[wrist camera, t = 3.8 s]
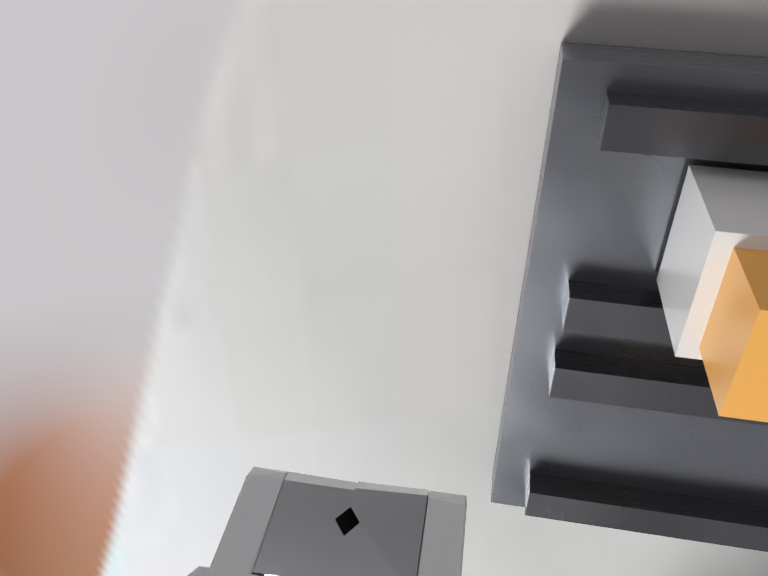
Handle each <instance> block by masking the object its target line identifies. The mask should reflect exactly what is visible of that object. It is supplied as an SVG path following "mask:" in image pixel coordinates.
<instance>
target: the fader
mask: <svg viewBox="0 0 768 576" xmlns="http://www.w3.org/2000/svg"><path fill="white" fill-rule="evenodd" d="M657 284H658V288H659V292H660V296H661V301H662V305H663V309H664V313H665V317H666V321H667V325H668V329H669V333H670V338H671V342H672V346H673V350H674V354H675V357H683V358H691V359H699V360H703V363H704V367H705V370H706V373H707V377H708V380H709V384H710V387H711V391H712V394H713V398H714V401H715V405H716V408H717V411H718V415H719V416H722V417H730V418H737V419H745V420H753V421H760V422H768V172H762V171H751V170H740V169H729V168H718V167H707V166H696V165H689V167H688V170H687V174H686V177H685V181H684V184H683V188H682V191H681V195H680V198H679V202H678V206H677V209H676V213H675V216H674V220H673V223H672V227H671V230H670V234H669V237H668V241H667V245H666V248H665V252H664V255H663V259H662V262H661V266H660V269H659V273H658V276H657Z"/></svg>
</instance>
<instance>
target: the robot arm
mask: <svg viewBox="0 0 768 576" xmlns="http://www.w3.org/2000/svg"><path fill="white" fill-rule="evenodd" d="M428 497H429V498H428ZM466 508H467V500H466V496H463V495H456V494H448V493H441V492H434V491H430V492H429V490H424V489H415V488H407V487H399V486H390V485H382V484H374V483H366V482H358V483H355V482H349V481H343V480H337V479H330V478H324V477H318V476H312V475H306V474H299V473H293V472H286V471H279V470H272V469H265V468H259V467H253V469H252V470H251V471H250V472H249V474H248V475H247V476H246V479H245V481H244V484H243V486H242V489H241V491H240V494H239V496H238V499H237V501H236V504H235V506H234V509H233V511H232V514H231V516H230V519H229V521H228V524H227V526H226V529H225V531H224V534H223V536H222V539H221V541H220V544H219V546H218V549H217V551H216V553H215V556H214V558H213V561H212V563H211V566H210V567H202V566H199V567H198V568H196V569H195V570H194V571H193V572H191V573H190V574H189V575H188V576H461V573H462V560H463V547H464V534H465V521H466Z"/></svg>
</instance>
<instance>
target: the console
mask: <svg viewBox="0 0 768 576" xmlns="http://www.w3.org/2000/svg"><path fill="white" fill-rule="evenodd" d="M689 165H696V166H707V167H718V168H729V169H740V170H751V171H762V172H768V57H754V56H740V55H726V54H713V53H699V52H685V51H671V50H657V49H644V48H630V47H616V46H602V45H588V44H575V43H561V46H560V53H559V59H558V65H557V72H556V78H555V84H554V90H553V97H552V103H551V109H550V116H549V122H548V128H547V135H546V141H545V147H544V153H543V160H542V166H541V172H540V179H539V185H538V191H537V198H536V204H535V210H534V216H533V223H532V229H531V235H530V242H529V248H528V254H527V260H526V267H525V273H524V279H523V286H522V292H521V298H520V305H519V311H518V317H517V323H516V330H515V336H514V342H513V349H512V355H511V361H510V367H509V374H508V380H507V386H506V393H505V399H504V405H503V412H502V418H501V424H500V430H499V437H498V443H497V449H496V456H495V462H494V468H493V477H492V493H491V502H494V503H501V504H508V505H514V506H521V507H525V515H529V516H535V517H542V518H548V519H555V520H561V521H568V522H575V523H581V524H588V525H594V526H601V527H608V528H614V529H621V530H627V531H634V532H640V533H647V534H654V535H660V536H667V537H673V538H680V539H687V540H693V541H700V542H706V543H713V544H719V545H726V546H733V547H739V548H746V549H752V550H759V551H766V552H768V422H760V421H753V420H745V419H737V418H730V417H722V416H719V415H718V411H717V408H716V405H715V401H714V398H713V394H712V391H711V387H710V384H709V380H708V377H707V373H706V370H705V367H704V363H703V360H699V359H691V358H683V357H675V354H674V350H673V346H672V342H671V338H670V333H669V329H668V325H667V321H666V317H665V313H664V309H663V305H662V301H661V296H660V292H659V288H658V284H657V276H658V273H659V269H660V266H661V262H662V259H663V255H664V252H665V248H666V245H667V241H668V237H669V234H670V230H671V227H672V223H673V220H674V216H675V213H676V209H677V206H678V202H679V198H680V195H681V191H682V188H683V184H684V181H685V177H686V174H687V170H688V167H689Z"/></svg>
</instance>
